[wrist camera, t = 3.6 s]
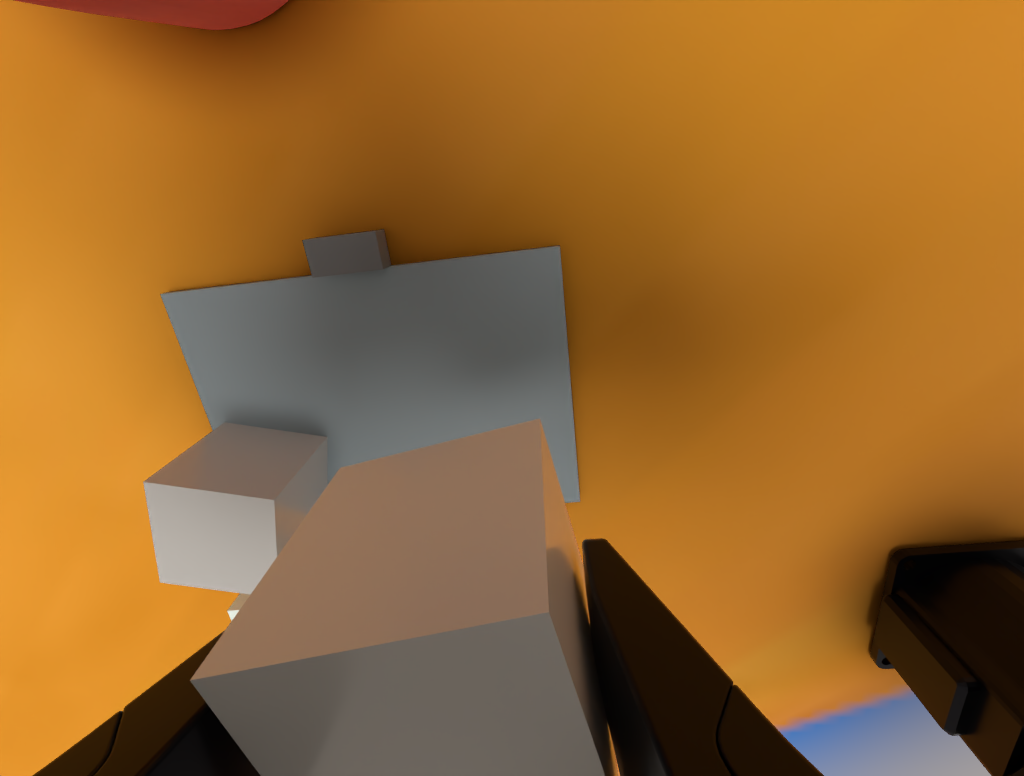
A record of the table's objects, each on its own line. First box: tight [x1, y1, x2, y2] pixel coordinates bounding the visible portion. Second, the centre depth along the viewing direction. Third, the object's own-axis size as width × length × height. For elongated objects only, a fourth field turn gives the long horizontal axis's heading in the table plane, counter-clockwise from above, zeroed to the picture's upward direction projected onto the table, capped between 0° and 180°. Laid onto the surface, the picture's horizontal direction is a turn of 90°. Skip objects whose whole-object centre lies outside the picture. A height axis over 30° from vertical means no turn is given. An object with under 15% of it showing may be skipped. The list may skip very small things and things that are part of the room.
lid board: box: [160, 229, 580, 503], centre depth 18 cm, size 14×11×1 cm
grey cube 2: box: [144, 422, 327, 595], centre depth 17 cm, size 4×4×4 cm
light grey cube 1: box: [190, 419, 618, 776], centre depth 8 cm, size 4×4×4 cm
